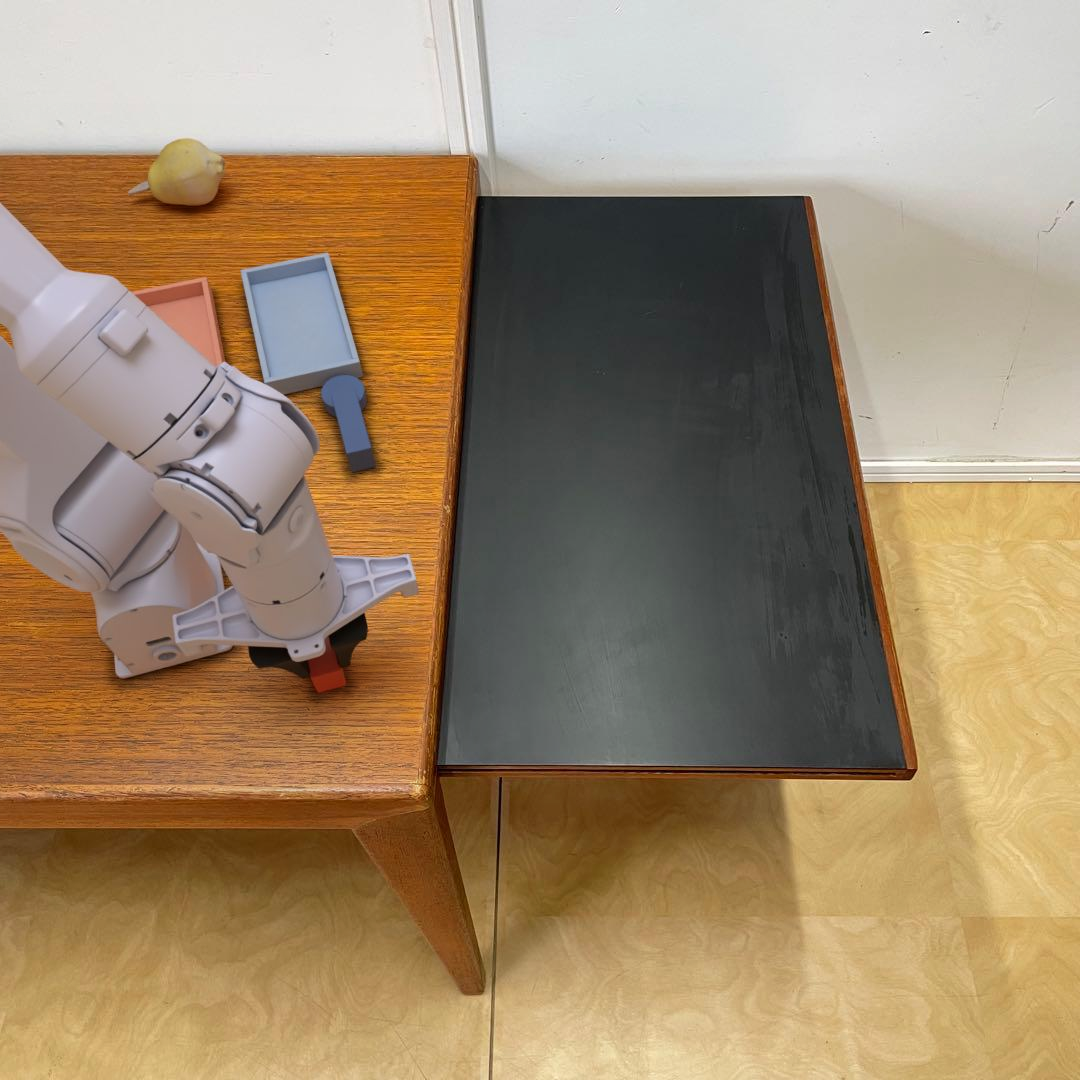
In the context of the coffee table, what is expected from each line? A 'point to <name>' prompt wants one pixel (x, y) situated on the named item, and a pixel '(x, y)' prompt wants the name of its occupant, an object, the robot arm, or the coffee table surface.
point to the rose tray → (188, 314)
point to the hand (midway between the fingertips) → (324, 659)
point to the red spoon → (326, 670)
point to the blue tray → (299, 323)
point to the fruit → (184, 174)
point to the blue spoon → (350, 418)
